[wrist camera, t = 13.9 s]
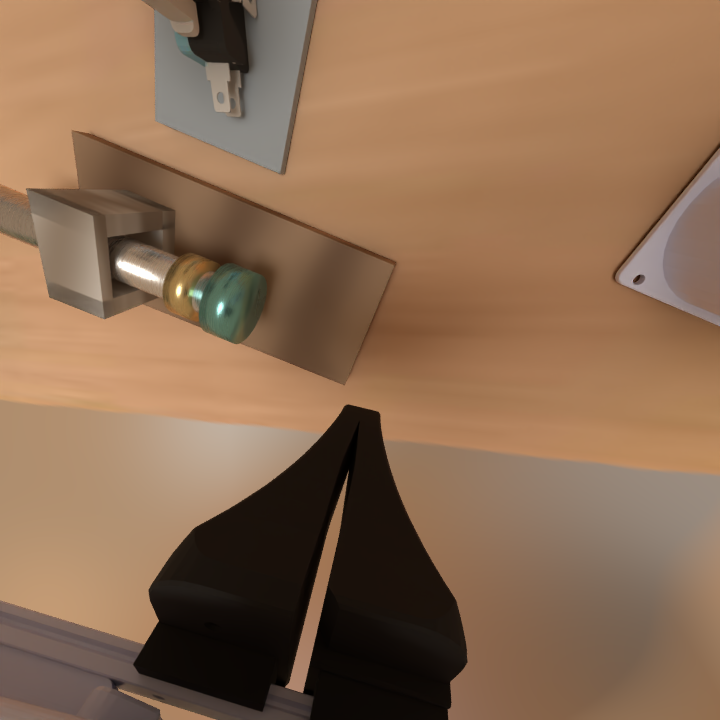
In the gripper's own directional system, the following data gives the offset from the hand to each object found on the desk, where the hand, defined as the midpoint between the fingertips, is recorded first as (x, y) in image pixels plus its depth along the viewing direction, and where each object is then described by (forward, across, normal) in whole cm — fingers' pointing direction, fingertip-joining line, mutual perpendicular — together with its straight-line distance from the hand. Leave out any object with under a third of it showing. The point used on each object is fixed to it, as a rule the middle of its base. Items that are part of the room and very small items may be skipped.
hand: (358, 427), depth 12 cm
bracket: (+9, +10, -2) cm, 14 cm away
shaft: (+7, +14, -3) cm, 16 cm away
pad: (+9, +10, -13) cm, 19 cm away
